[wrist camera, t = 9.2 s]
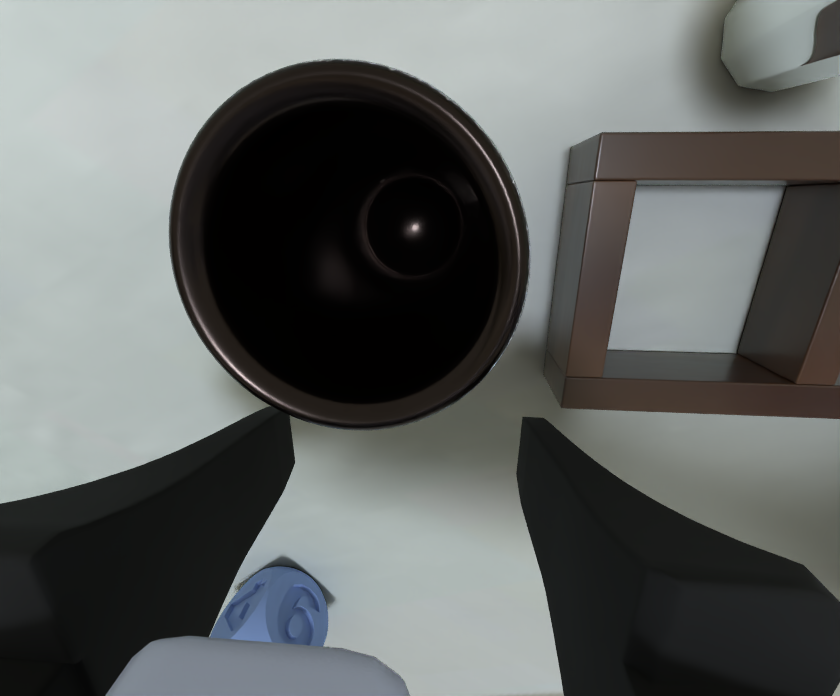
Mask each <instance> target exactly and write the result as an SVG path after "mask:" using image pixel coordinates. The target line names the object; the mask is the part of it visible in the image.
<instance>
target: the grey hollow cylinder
mask: <svg viewBox="0 0 840 696" xmlns="http://www.w3.org/2000/svg"><path fill="white" fill-rule="evenodd" d="M169 248H170V257H171V263H172V269H173V274H174V278H175V282H176V286H177V289H178V292H179V295H180V298H181V301H182V303H183V306H184V308H185V311H186V313H187V315H188V317H189V319H190V321H191V323H192V325H193V327H194V329H195V330H196V332H197V334H198V336H199V337H200V339H201V340H202V342H203V343H204V345H205V346H206V348H207V349H208V350H209V352H210V353H211V354H212V356H213V357H214V358H215V359H216V361H217V362H218V363H219V364H220V365H221V366H222V367H223V368H224V370H225V371H226V372H227V373H228V374H229V375H230V376H231V377H232V378H234V379H235V380H236V381H237V382H238V383H239V384H240V385H242V386H243V387H244V388H245V389H247V390H248V391H249V392H250V393H252V394H253V395H255V396H256V397H257V398H259V399H260V400H262V401H263V402H265V403H267V404H269V405H270V406H272V407H274V408H276V409H278V410H280V411H282V412H284V413H286V414H288V415H290V416H293V417H295V418H297V419H300V420H303V421H306V422H309V423H313V424H316V425H320V426H325V427H330V428H336V429H343V430H381V429H388V428H394V427H399V426H404V425H407V424H411V423H414V422H417V421H420V420H423V419H425V418H428V417H430V416H432V415H434V414H436V413H439V412H440V411H442V410H444V409H446V408H448V407H449V406H451V405H452V404H454V403H455V402H457V401H458V400H460V399H461V398H462V397H464V396H465V395H466V394H468V393H469V392H470V391H471V390H472V389H473V388H475V387H476V386H477V385H478V384H479V383H480V382H481V381H482V380H483V379H484V378H485V377H486V375H487V374H488V373H489V372H490V371H491V370H492V368H493V367H494V366H495V365H496V363H497V362H498V360H499V359H500V357H501V356H502V354H503V353H504V351H505V350H506V348H507V346H508V344H509V343H510V341H511V339H512V337H513V334H514V332H515V330H516V328H517V325H518V323H519V320H520V317H521V314H522V311H523V307H524V304H525V300H526V295H527V290H528V283H529V275H530V241H529V232H528V226H527V221H526V215H525V211H524V208H523V204H522V200H521V197H520V194H519V192H518V189H517V186H516V183H515V181H514V179H513V177H512V175H511V172H510V170H509V168H508V166H507V164H506V163H505V161H504V159H503V157H502V156H501V154H500V152H499V151H498V149H497V148H496V146H495V145H494V143H493V142H492V140H491V139H490V138H489V136H488V135H487V134H486V133H485V131H484V130H483V129H482V128H481V126H480V125H479V124H478V123H477V122H476V121H475V120H474V119H473V118H472V117H471V116H470V115H469V114H468V113H467V112H466V111H465V110H464V109H463V108H462V107H460V106H459V105H458V104H457V103H456V102H455V101H453V100H452V99H451V98H449V97H448V96H447V95H445V94H444V93H443V92H441V91H439V90H438V89H436V88H435V87H433V86H431V85H430V84H428V83H426V82H424V81H422V80H420V79H418V78H417V77H415V76H413V75H410V74H408V73H405V72H403V71H400V70H398V69H395V68H391V67H388V66H385V65H381V64H377V63H372V62H367V61H360V60H351V59H324V60H313V61H308V62H302V63H297V64H294V65H290V66H287V67H283V68H281V69H278V70H276V71H273V72H270V73H268V74H266V75H264V76H262V77H260V78H258V79H256V80H254V81H252V82H251V83H249V84H248V85H246V86H244V87H243V88H241V89H240V90H239V91H237V92H236V93H235V94H233V95H232V96H231V97H230V98H228V99H227V100H226V101H225V102H224V103H223V104H222V105H221V106H220V107H219V108H218V109H217V110H216V111H215V112H214V113H213V114H212V115H211V116H210V118H209V119H208V120H207V121H206V122H205V124H204V125H203V127H202V128H201V129H200V131H199V132H198V134H197V135H196V137H195V139H194V140H193V142H192V144H191V145H190V147H189V149H188V151H187V153H186V155H185V158H184V160H183V162H182V165H181V167H180V170H179V173H178V176H177V179H176V183H175V186H174V190H173V195H172V200H171V207H170V216H169Z"/></svg>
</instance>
